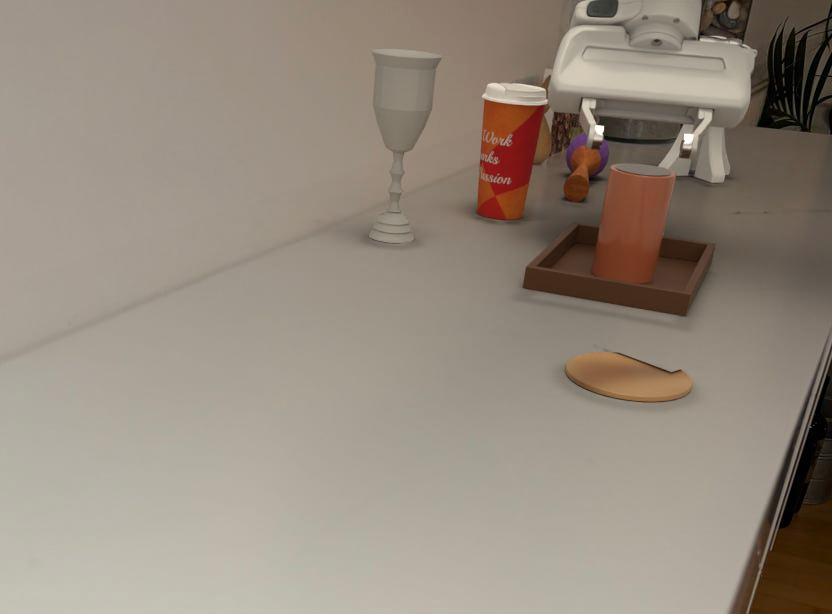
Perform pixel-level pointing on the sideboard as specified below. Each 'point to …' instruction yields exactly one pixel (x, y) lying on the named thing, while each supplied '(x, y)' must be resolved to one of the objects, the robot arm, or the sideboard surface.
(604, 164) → the maraca
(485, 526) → the sideboard surface
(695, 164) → the white mech figurine
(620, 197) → the cup
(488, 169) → the paper cup
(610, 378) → the coaster
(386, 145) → the chalice
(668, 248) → the tray
